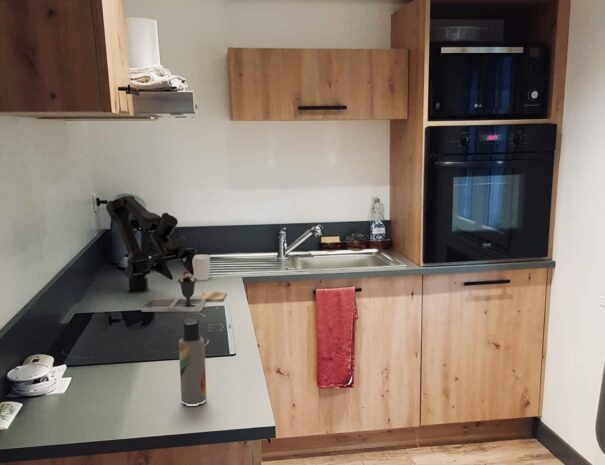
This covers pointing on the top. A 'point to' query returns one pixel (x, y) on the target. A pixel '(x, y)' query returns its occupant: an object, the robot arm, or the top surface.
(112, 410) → the top surface
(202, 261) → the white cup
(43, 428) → the top surface
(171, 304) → the divided tray
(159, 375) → the top surface
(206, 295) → the coaster
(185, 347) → the lotion bottle
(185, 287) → the sundae
